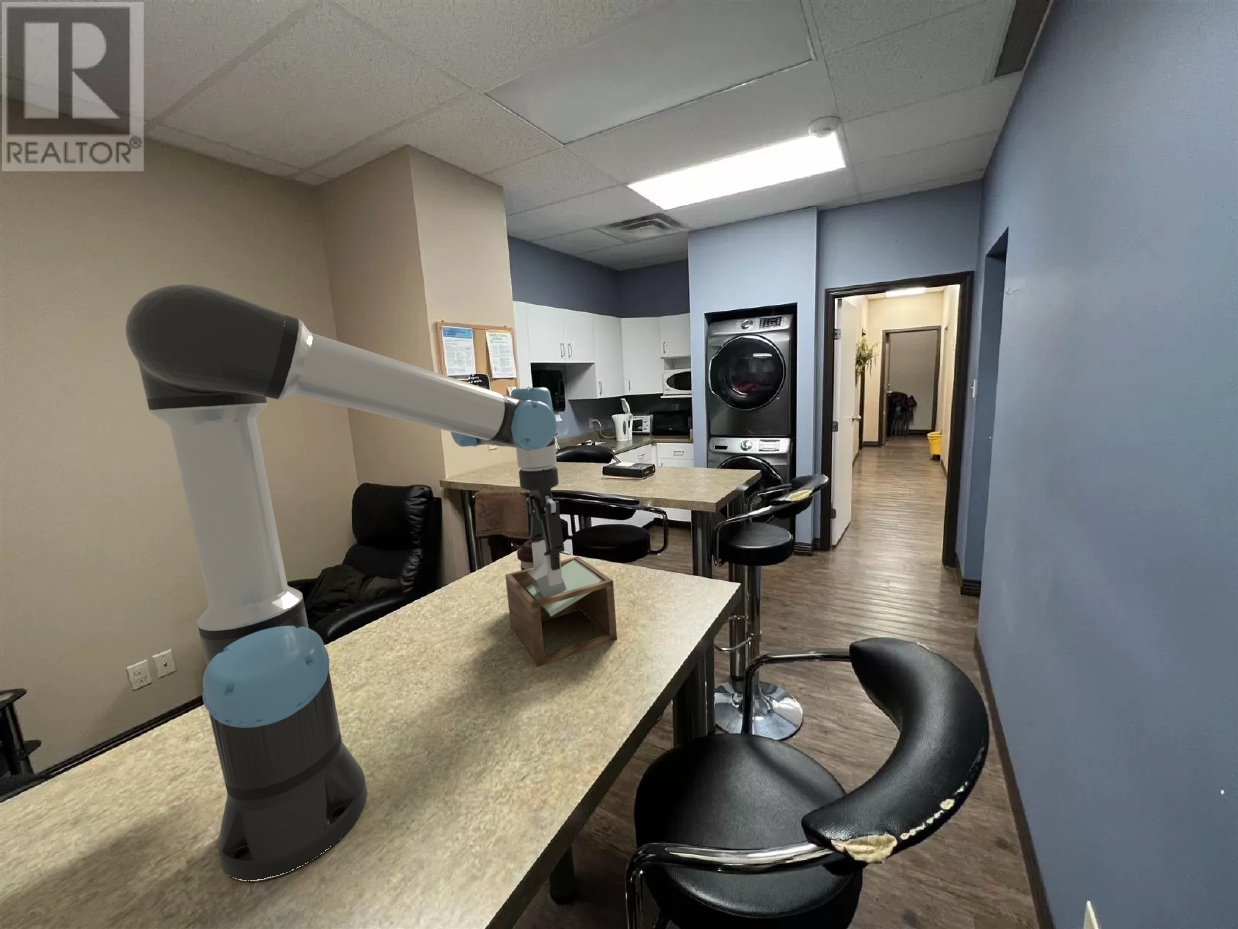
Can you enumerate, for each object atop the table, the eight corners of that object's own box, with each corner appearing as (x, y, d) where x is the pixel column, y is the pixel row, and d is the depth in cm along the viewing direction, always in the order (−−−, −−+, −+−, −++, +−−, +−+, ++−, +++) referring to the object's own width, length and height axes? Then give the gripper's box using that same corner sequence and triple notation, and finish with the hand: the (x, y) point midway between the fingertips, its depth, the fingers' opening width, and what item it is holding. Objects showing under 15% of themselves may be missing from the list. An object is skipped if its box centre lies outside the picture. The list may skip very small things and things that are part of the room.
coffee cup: (571, 597, 118) (566, 538, 115) (544, 614, 110) (539, 552, 107) (541, 589, 123) (535, 534, 121) (513, 606, 115) (507, 546, 113)
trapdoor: (551, 617, 91) (549, 613, 91) (526, 591, 104) (525, 587, 103) (605, 583, 96) (604, 579, 96) (576, 562, 109) (574, 559, 108)
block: (544, 601, 95) (536, 580, 94) (536, 592, 100) (527, 572, 98) (566, 588, 97) (558, 567, 96) (557, 580, 102) (549, 560, 100)
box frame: (537, 666, 90) (531, 604, 87) (511, 628, 104) (505, 574, 102) (617, 638, 98) (613, 580, 95) (581, 607, 112) (577, 556, 110)
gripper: (576, 471, 87) (585, 589, 91) (538, 459, 104) (547, 558, 108) (537, 477, 83) (548, 600, 87) (504, 463, 101) (515, 566, 105)
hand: (547, 577), depth 98 cm, fingers open, 7 cm apart
